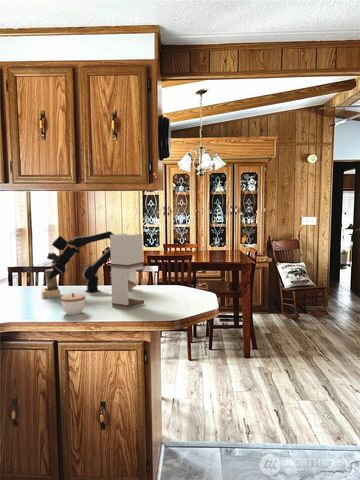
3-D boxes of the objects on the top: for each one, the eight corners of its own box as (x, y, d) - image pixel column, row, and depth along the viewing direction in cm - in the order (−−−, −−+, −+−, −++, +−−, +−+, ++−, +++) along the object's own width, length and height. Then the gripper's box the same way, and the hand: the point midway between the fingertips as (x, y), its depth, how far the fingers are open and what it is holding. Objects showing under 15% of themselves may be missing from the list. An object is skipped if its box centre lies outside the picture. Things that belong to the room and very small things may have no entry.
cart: (57, 287, 209) (54, 268, 208) (58, 289, 203) (55, 269, 202) (47, 289, 207) (44, 269, 206) (48, 291, 201) (45, 271, 200)
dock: (60, 292, 213) (60, 286, 213) (63, 296, 202) (62, 290, 202) (41, 294, 209) (40, 288, 208) (42, 298, 198) (42, 292, 197)
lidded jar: (76, 309, 175) (76, 289, 174) (90, 312, 168) (90, 292, 167) (56, 314, 166) (55, 293, 166) (70, 318, 160) (69, 296, 159)
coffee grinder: (129, 309, 172) (127, 235, 169) (112, 307, 177) (109, 234, 175) (144, 304, 181) (142, 233, 179) (127, 301, 187) (125, 233, 184)
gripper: (53, 245, 213) (35, 267, 210) (56, 248, 196) (37, 272, 193) (68, 257, 217) (51, 278, 214) (73, 260, 200) (54, 284, 197)
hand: (48, 278), depth 204 cm, fingers closed on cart, 5 cm apart
